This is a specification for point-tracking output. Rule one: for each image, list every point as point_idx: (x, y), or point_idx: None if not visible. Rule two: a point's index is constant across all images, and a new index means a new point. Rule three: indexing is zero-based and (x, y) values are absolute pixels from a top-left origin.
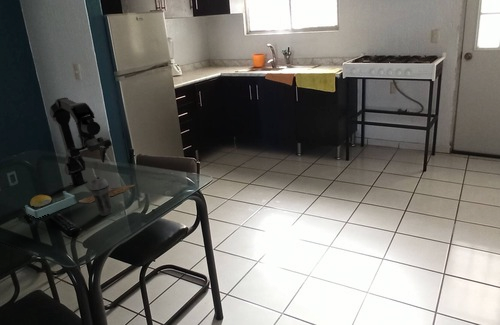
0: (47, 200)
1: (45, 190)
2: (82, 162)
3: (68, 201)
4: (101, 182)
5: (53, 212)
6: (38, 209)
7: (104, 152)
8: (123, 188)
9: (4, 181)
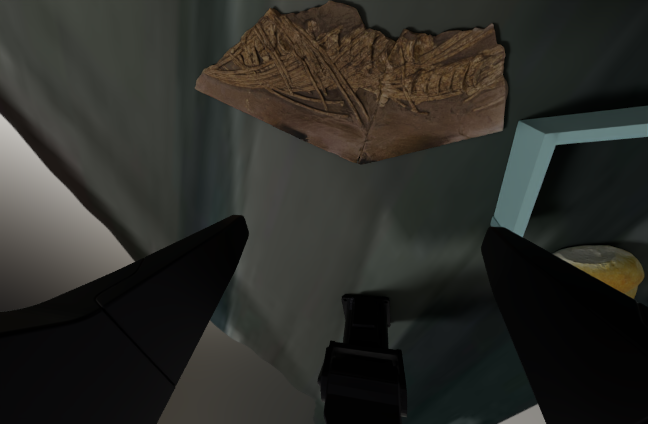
0: (581, 259)
1: (462, 346)
2: (582, 294)
3: (594, 121)
4: None
5: None
6: None
7: (89, 294)
8: (253, 79)
9: None
